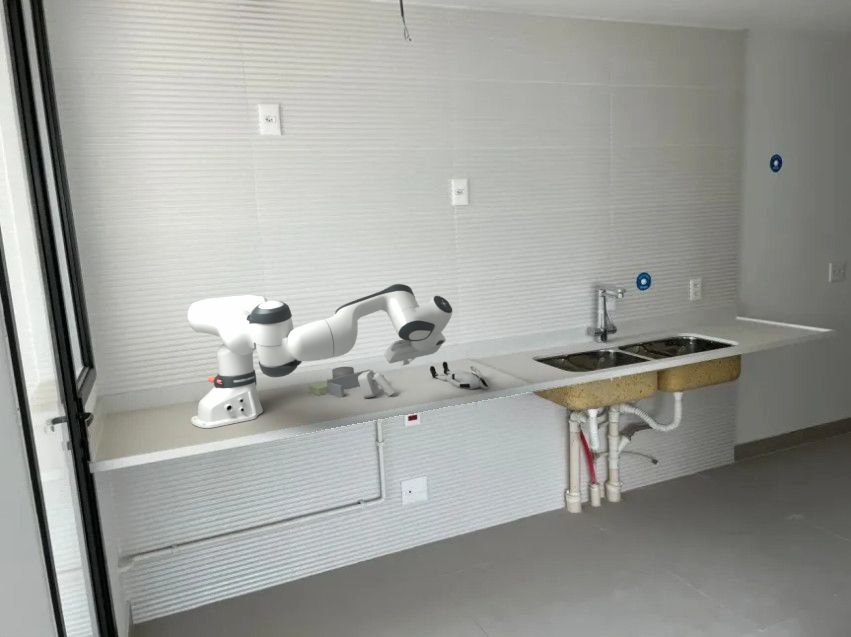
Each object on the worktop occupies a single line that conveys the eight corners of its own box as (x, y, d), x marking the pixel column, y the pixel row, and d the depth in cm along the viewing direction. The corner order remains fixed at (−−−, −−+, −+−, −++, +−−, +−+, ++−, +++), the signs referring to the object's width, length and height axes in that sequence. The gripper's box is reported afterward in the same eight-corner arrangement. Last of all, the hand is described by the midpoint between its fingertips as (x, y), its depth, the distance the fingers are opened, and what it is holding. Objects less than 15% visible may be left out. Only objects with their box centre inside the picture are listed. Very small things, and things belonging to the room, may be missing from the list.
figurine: (451, 358, 244) (501, 368, 219) (454, 374, 245) (503, 385, 220) (423, 368, 237) (471, 379, 212) (426, 384, 238) (474, 397, 213)
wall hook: (393, 397, 213) (384, 370, 212) (365, 404, 215) (357, 377, 214) (399, 391, 221) (390, 364, 220) (372, 397, 223) (364, 371, 222)
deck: (333, 399, 216) (331, 381, 215) (308, 391, 229) (307, 374, 228) (391, 384, 233) (390, 367, 232) (366, 377, 246) (364, 361, 245)
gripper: (400, 349, 188) (383, 377, 197) (449, 339, 202) (431, 365, 210) (390, 334, 191) (373, 361, 200) (439, 324, 204) (421, 351, 213)
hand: (403, 363), depth 205 cm, fingers closed
